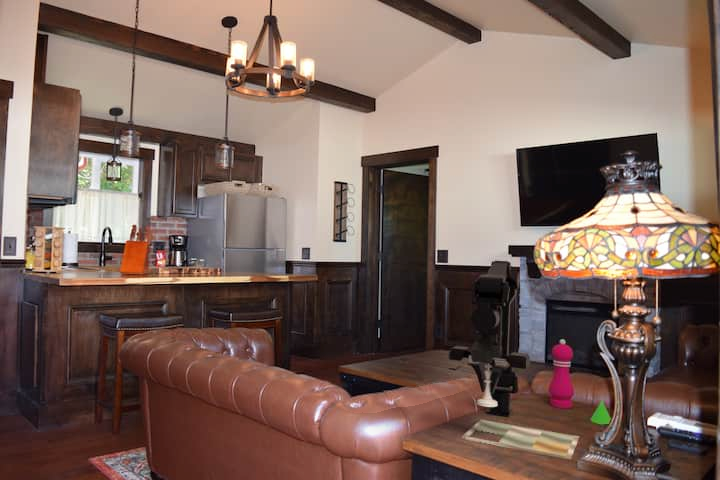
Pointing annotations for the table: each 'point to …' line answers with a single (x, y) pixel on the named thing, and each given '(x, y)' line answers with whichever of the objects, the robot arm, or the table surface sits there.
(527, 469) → the table surface
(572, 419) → the table surface
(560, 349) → the pepper mill
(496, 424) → the game board
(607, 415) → the gemstone
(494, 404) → the chess piece
